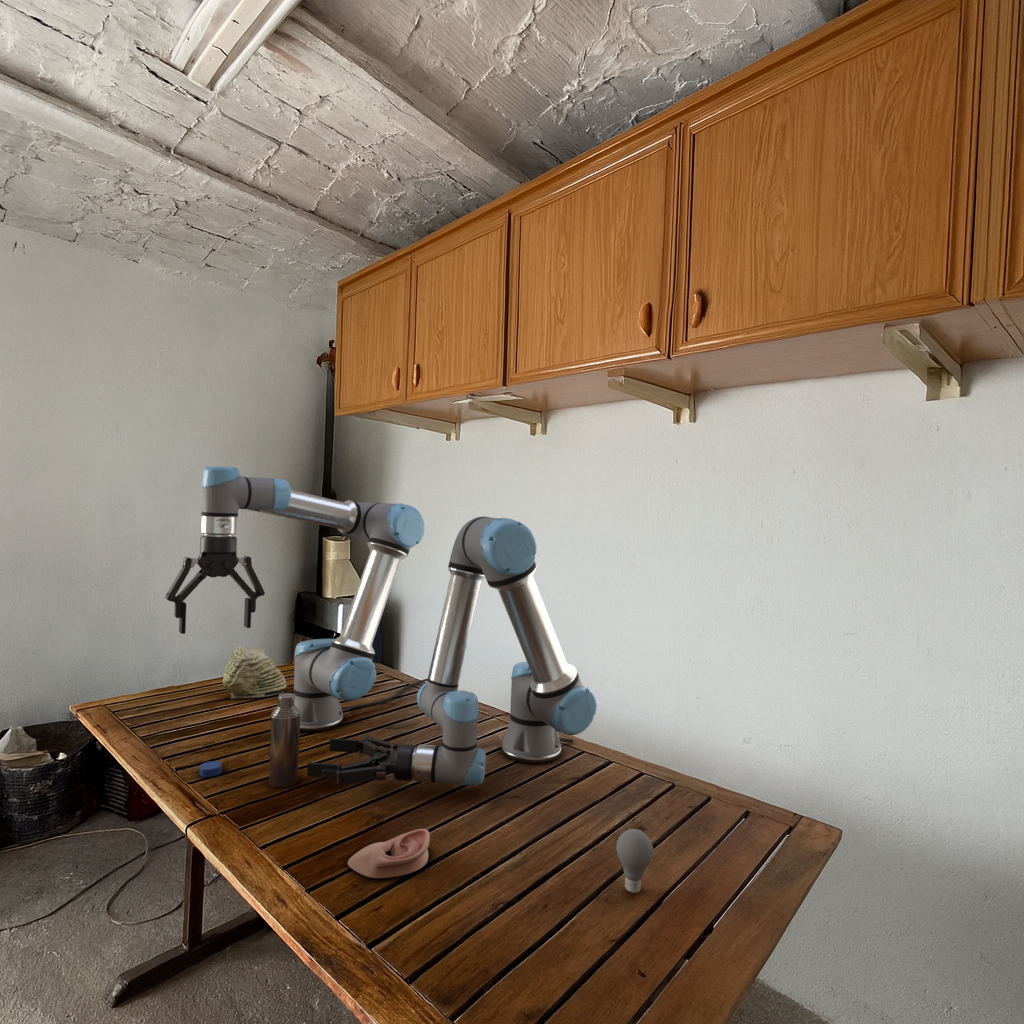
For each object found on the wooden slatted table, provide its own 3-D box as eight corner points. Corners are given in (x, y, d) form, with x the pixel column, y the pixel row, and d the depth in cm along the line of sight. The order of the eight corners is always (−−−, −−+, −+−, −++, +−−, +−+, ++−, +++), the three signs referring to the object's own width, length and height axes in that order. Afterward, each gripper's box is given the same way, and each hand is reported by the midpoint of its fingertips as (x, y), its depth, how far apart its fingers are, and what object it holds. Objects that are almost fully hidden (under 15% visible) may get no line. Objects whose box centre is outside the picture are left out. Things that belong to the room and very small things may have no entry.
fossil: (218, 695, 195) (220, 647, 195) (278, 685, 208) (279, 640, 207) (228, 703, 189) (230, 653, 188) (289, 692, 201) (290, 645, 201)
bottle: (303, 781, 140) (306, 695, 140) (276, 790, 136) (279, 701, 135) (289, 772, 144) (292, 689, 144) (263, 780, 140) (266, 694, 140)
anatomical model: (339, 849, 107) (368, 816, 118) (339, 872, 107) (367, 837, 118) (414, 862, 104) (436, 827, 115) (413, 885, 104) (435, 848, 116)
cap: (203, 768, 145) (204, 760, 145) (224, 768, 145) (225, 761, 145) (195, 777, 140) (196, 769, 140) (217, 777, 141) (217, 769, 141)
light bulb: (610, 879, 108) (613, 822, 108) (644, 879, 109) (647, 822, 109) (619, 902, 102) (622, 840, 102) (655, 901, 103) (658, 840, 103)
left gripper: (159, 536, 131) (155, 638, 131) (280, 536, 147) (277, 627, 147) (152, 534, 137) (149, 631, 137) (270, 534, 152) (267, 621, 153)
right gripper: (400, 807, 126) (296, 799, 127) (425, 756, 151) (337, 751, 152) (402, 769, 126) (298, 762, 127) (426, 725, 151) (339, 720, 152)
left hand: (215, 629), depth 142 cm, fingers open, 13 cm apart
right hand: (319, 756), depth 140 cm, fingers open, 13 cm apart
